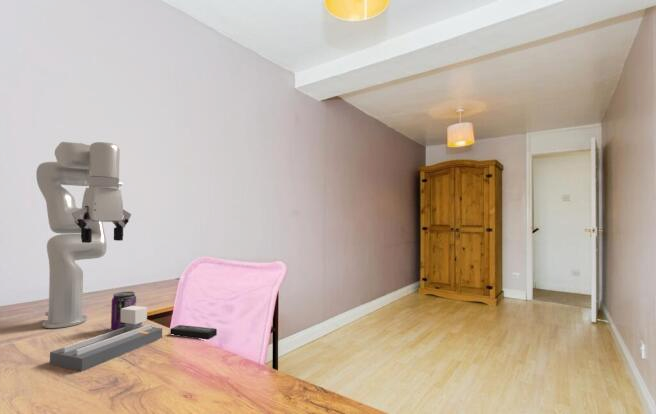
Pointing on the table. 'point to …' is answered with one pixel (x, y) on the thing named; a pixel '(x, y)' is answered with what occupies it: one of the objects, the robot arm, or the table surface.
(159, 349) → the table surface
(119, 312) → the beverage can
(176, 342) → the table surface
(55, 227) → the robot arm
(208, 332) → the multiport hub
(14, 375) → the table surface
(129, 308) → the fader knob
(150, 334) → the fader console
